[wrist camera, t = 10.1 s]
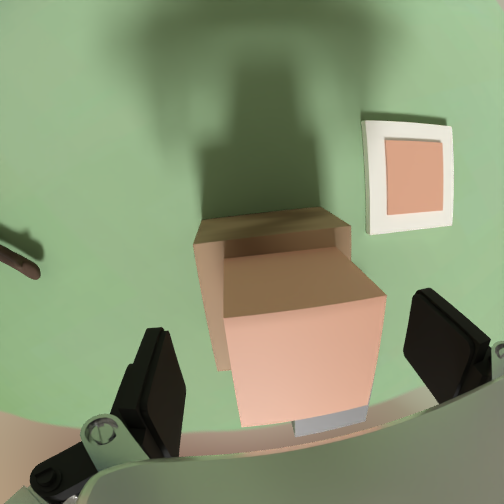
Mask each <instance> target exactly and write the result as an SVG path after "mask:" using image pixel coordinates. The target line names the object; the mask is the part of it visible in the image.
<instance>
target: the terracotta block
mask: <svg viewBox="0 0 504 504" xmlns="http://www.w3.org/2000/svg"><path fill="white" fill-rule="evenodd" d="M386 297H387V295H386V294H385V293H384V292H383V291H382V290H381V289H380V288H379V287H378V286H377V285H376V284H375V283H374V282H373V281H371V280H370V279H369V278H368V277H367V276H366V275H365V274H364V273H363V272H362V271H361V270H360V269H359V268H358V267H357V266H356V265H355V264H354V263H353V262H352V261H351V260H349V259H348V258H347V257H346V256H345V255H344V254H343V253H342V252H341V251H340V250H339V249H338V248H337V247H327V248H318V249H309V250H300V251H291V252H281V253H272V254H263V255H254V256H244V257H235V258H226V259H224V290H223V320H224V326H225V333H226V339H227V345H228V352H229V358H230V364H231V370H232V376H233V381H234V387H235V393H236V399H237V404H238V410H239V415H240V421H241V426H242V427H250V426H259V425H267V424H275V423H282V422H288V421H295V420H301V419H306V418H312V417H317V416H322V415H327V414H332V413H336V412H341V411H345V410H349V409H353V408H357V407H361V406H365V405H368V402H369V397H370V393H371V388H372V384H373V379H374V374H375V369H376V364H377V358H378V353H379V347H380V341H381V334H382V328H383V321H384V313H385V305H386Z"/></svg>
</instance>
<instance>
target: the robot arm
mask: <svg viewBox="0 0 504 504" xmlns="http://www.w3.org/2000/svg"><path fill="white" fill-rule="evenodd" d="M490 340H491V339H490V338H489V337H488V336H487V335H486V334H485V333H484V332H482V331H481V330H480V329H479V328H478V327H477V326H476V325H474V324H473V323H472V322H471V321H470V320H469V319H468V318H466V317H465V316H464V315H463V314H462V313H461V312H459V311H458V310H457V309H456V308H455V307H453V306H452V305H451V304H450V303H449V302H447V301H446V300H445V299H444V298H443V297H441V296H440V295H439V294H438V293H436V292H435V291H434V290H433V289H431V288H426V289H421V290H418V291H416V293H415V295H413V298H412V304H411V310H410V316H409V322H408V328H407V333H406V338H405V343H404V348H403V352H404V356H405V358H406V359H407V360H408V362H409V363H410V364H411V366H412V367H413V368H414V370H415V371H416V372H417V374H418V375H419V376H420V378H421V379H422V381H423V382H424V383H425V385H426V386H427V387H428V389H429V390H430V392H431V393H432V394H433V396H434V397H435V399H436V400H437V401H438V403H439V405H436V406H434V407H431V408H429V409H426V410H424V411H421V412H418V413H415V414H413V415H410V416H407V417H404V418H401V419H398V420H395V421H392V422H389V423H386V424H383V425H380V426H377V427H373V428H370V429H366V430H362V431H359V432H356V433H351V434H347V435H344V436H339V437H336V438H331V439H326V440H322V441H317V442H312V443H307V444H301V445H296V446H290V447H284V448H278V449H270V450H263V451H254V452H245V453H235V454H224V455H210V456H189V457H179V448H180V438H181V430H182V421H183V413H184V405H185V397H186V386H185V383H184V380H183V376H182V373H181V370H180V367H179V364H178V360H177V357H176V354H175V350H174V347H173V344H172V340H171V337H170V333H169V331H164V329H163V328H162V327H159V328H147V329H146V332H145V334H144V337H143V339H142V342H141V344H140V347H139V350H138V352H137V355H136V357H135V360H134V363H133V364H129V365H128V367H127V369H126V371H125V374H124V377H123V379H122V382H121V385H120V387H119V390H118V393H117V395H116V398H115V401H114V404H113V406H112V409H111V412H110V414H100V415H97V416H94V417H92V418H90V419H89V420H87V421H86V422H85V424H84V425H83V427H82V429H81V432H80V437H81V440H82V441H81V442H79V443H77V444H76V445H74V446H72V447H70V448H68V449H66V450H65V451H63V452H61V453H59V454H57V455H55V456H53V457H51V458H49V459H47V460H46V461H44V462H42V463H40V464H38V465H37V466H36V467H35V468H34V469H33V470H32V473H31V475H30V484H31V485H30V486H29V487H28V488H26V487H25V486H23V487H22V488H21V489H20V490H19V491H17V492H16V493H15V494H14V495H13V496H12V497H11V498H10V499H9V500H8V501H7V502H5V503H4V504H504V341H499V342H496V343H495V344H494V345H493V346H492V348H491V347H490V346H489V343H490Z"/></svg>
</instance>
